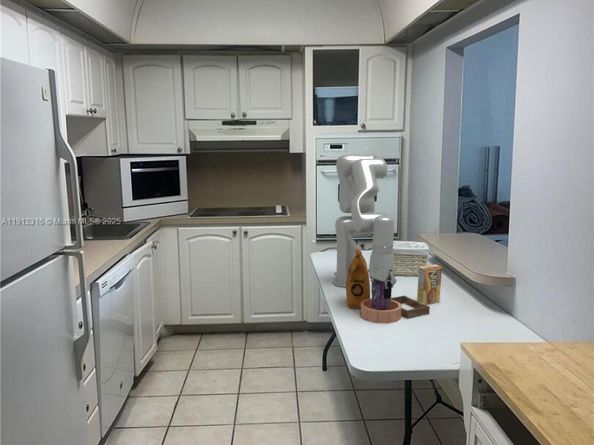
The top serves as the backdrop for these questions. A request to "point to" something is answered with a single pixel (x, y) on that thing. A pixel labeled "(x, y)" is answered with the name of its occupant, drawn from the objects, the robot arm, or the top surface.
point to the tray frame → (419, 307)
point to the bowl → (380, 312)
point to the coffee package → (357, 281)
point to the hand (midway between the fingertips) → (381, 294)
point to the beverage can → (379, 296)
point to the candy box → (429, 284)
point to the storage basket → (409, 257)
